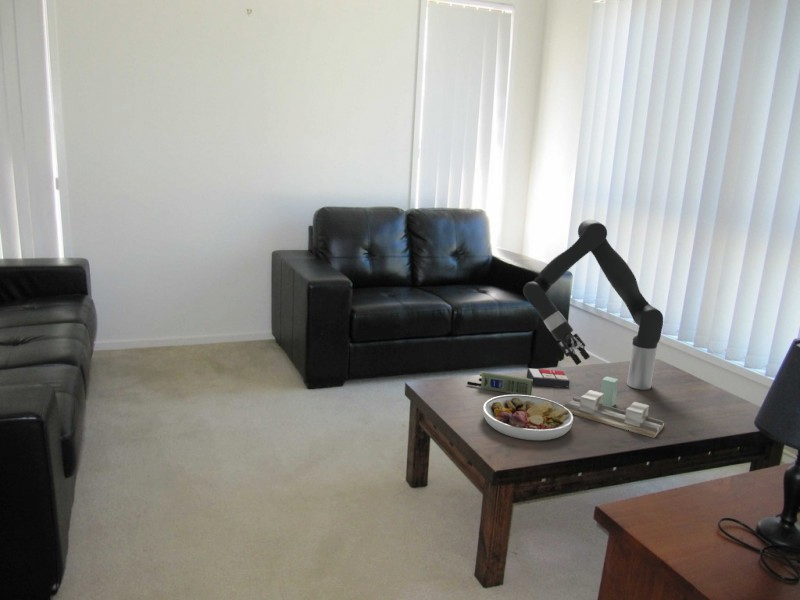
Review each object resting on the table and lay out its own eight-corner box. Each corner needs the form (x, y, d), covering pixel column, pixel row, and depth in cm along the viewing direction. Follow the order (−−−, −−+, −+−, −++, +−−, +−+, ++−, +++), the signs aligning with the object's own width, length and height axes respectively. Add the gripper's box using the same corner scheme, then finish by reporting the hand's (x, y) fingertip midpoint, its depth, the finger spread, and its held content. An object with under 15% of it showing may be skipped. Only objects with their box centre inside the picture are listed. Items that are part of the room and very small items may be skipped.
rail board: (575, 401, 237) (577, 385, 235) (664, 426, 218) (666, 408, 217) (562, 411, 227) (564, 393, 226) (654, 437, 209) (657, 419, 207)
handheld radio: (530, 397, 239) (466, 387, 247) (531, 395, 242) (467, 384, 250) (532, 380, 238) (467, 371, 246) (533, 378, 241) (469, 368, 249)
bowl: (497, 401, 235) (499, 381, 233) (579, 418, 222) (581, 398, 220) (469, 431, 208) (471, 408, 206) (561, 453, 196) (563, 429, 194)
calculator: (570, 379, 251) (533, 376, 250) (568, 389, 252) (531, 386, 251) (563, 370, 261) (527, 366, 261) (562, 380, 262) (526, 376, 262)
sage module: (603, 401, 239) (606, 376, 236) (615, 404, 236) (618, 379, 234) (599, 404, 235) (602, 379, 233) (611, 407, 232) (614, 382, 230)
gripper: (557, 324, 235) (584, 360, 231) (572, 317, 246) (598, 351, 242) (543, 334, 239) (568, 370, 235) (558, 327, 250) (583, 361, 246)
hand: (583, 361), depth 238 cm, fingers open, 8 cm apart
